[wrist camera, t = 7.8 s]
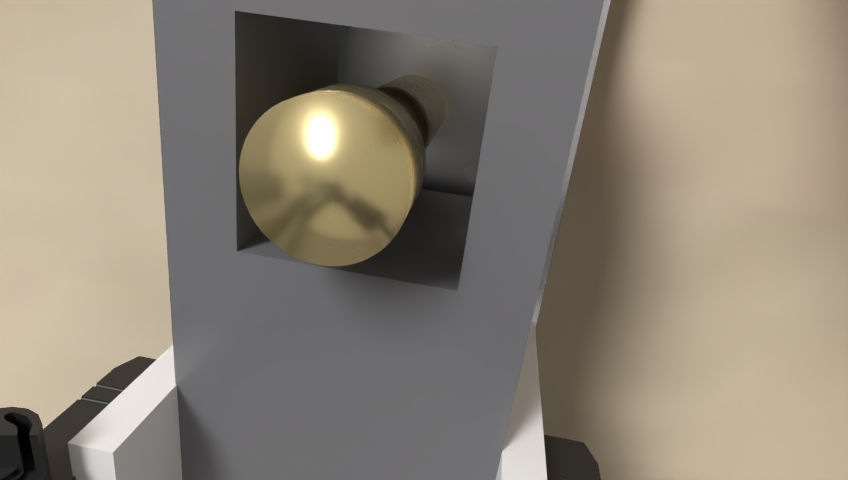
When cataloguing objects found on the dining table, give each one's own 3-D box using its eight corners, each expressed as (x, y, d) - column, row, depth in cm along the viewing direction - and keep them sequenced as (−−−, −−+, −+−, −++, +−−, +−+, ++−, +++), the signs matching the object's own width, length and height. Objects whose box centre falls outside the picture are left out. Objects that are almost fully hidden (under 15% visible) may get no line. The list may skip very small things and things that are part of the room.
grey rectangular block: (445, 606, 18) (419, 833, 13) (274, 566, 19) (184, 769, 14) (584, -72, 11) (649, -162, 6) (291, -105, 11) (107, -215, 6)
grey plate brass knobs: (468, 594, 21) (444, 927, 13) (267, 549, 22) (133, 840, 14) (634, -152, 12) (863, -476, 4) (282, -187, 13) (-73, -524, 5)
